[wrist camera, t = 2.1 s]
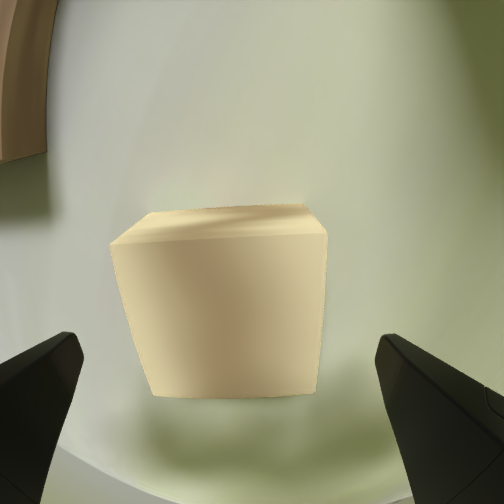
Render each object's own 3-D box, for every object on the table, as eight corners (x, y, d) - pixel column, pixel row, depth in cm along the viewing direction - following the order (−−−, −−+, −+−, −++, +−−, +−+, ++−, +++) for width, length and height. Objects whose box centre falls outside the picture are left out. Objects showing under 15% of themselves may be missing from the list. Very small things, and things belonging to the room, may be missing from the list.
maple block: (302, 202, 11) (327, 232, 8) (300, 331, 14) (315, 393, 10) (151, 211, 11) (109, 244, 8) (173, 335, 14) (153, 395, 10)
